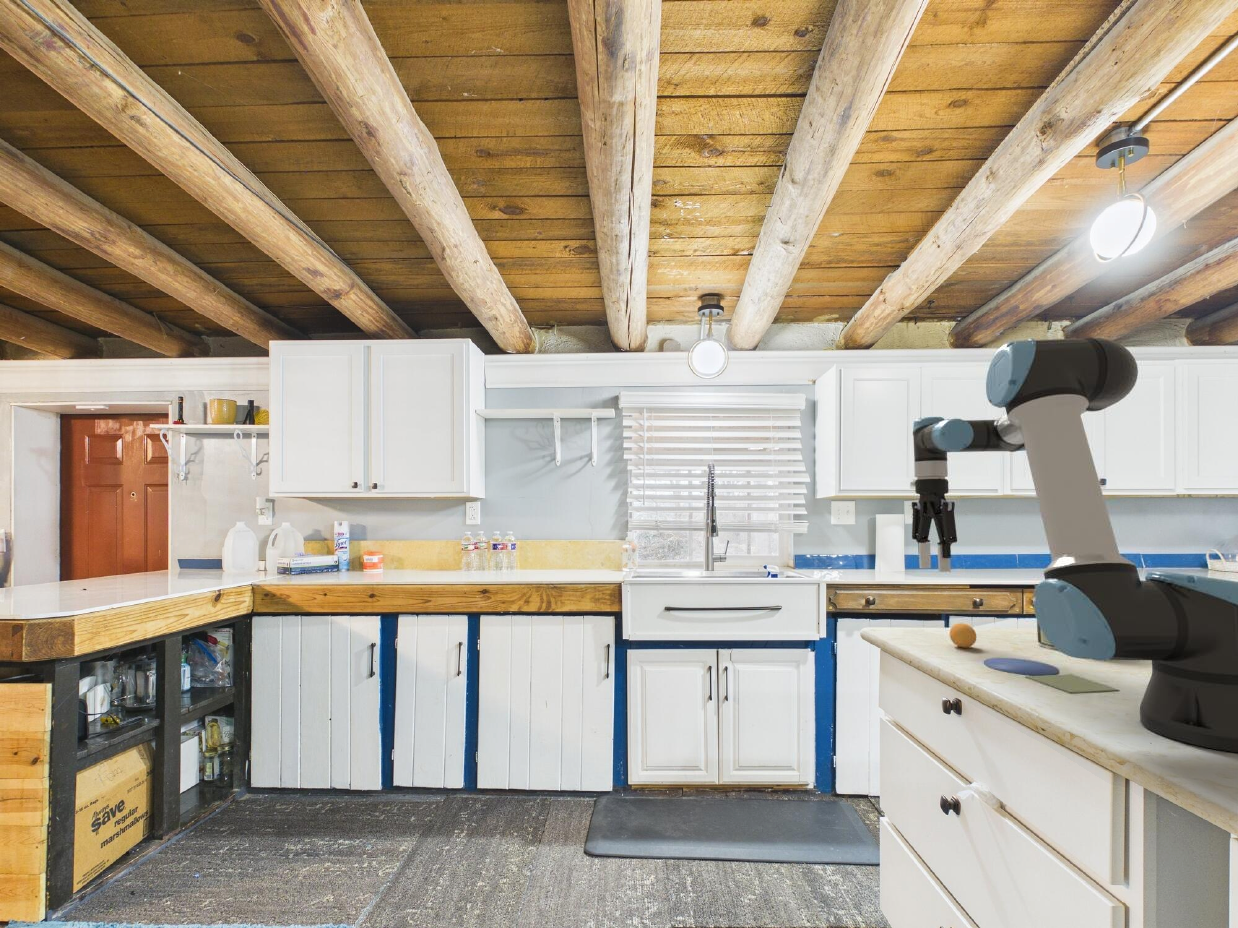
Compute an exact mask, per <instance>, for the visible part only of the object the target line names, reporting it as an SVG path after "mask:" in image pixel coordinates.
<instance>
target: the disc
mask: <svg viewBox="0 0 1238 928" xmlns="http://www.w3.org/2000/svg"><path fill="white" fill-rule="evenodd" d="M983 664H984V666H986V667H988V668H990V667H991V669H993V668H994V670H997V671H999V672H1004V671H1005V672H1006V673H1010V674H1016V675H1024V676H1044V675H1059V674H1060V670H1059V668H1057V667H1056V666H1054V665H1051V664H1048V663H1045V662H1039V661H1037V660H1032V659H1031V660H1030V659H1023V658H1016V657H1014V658H1013V657H991V658H986V659H984V660H983Z"/></svg>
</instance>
